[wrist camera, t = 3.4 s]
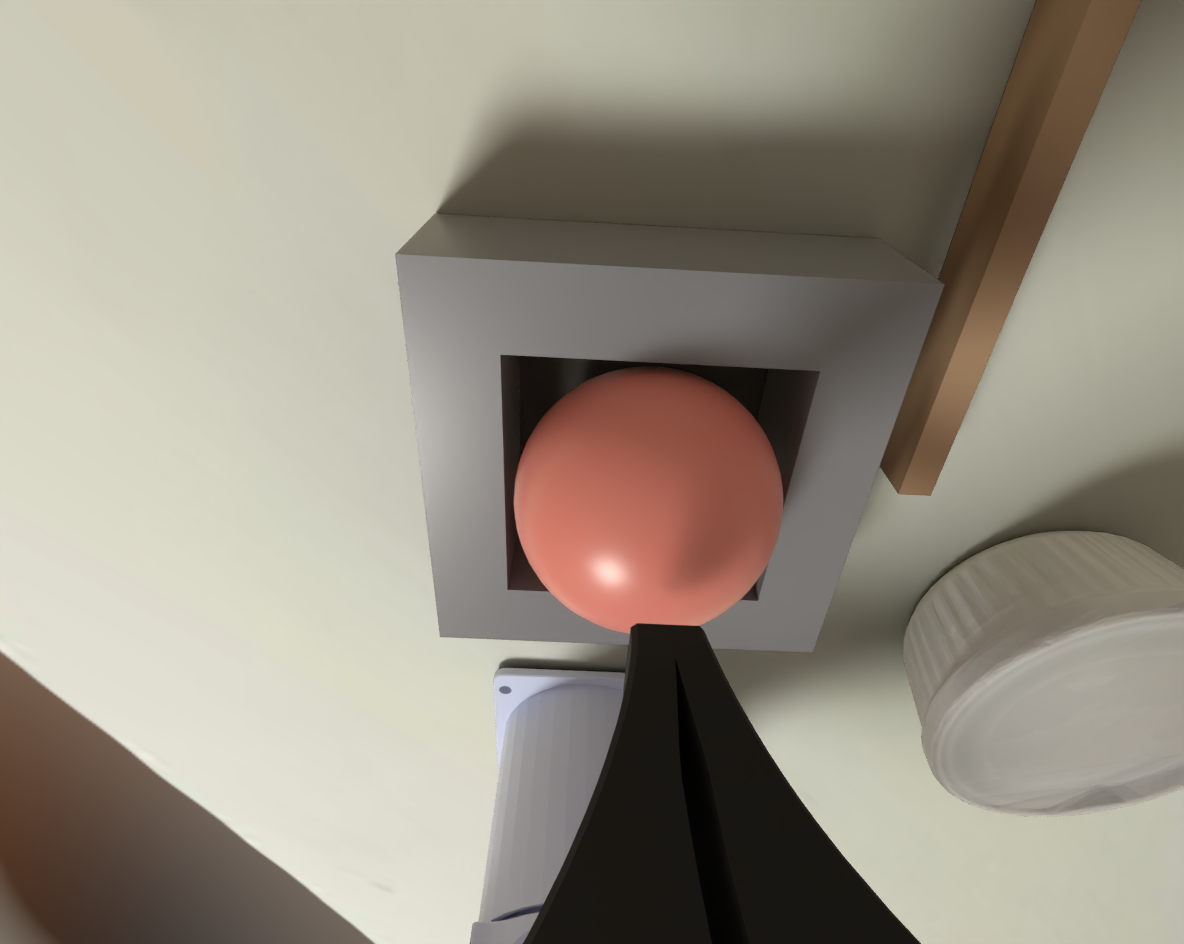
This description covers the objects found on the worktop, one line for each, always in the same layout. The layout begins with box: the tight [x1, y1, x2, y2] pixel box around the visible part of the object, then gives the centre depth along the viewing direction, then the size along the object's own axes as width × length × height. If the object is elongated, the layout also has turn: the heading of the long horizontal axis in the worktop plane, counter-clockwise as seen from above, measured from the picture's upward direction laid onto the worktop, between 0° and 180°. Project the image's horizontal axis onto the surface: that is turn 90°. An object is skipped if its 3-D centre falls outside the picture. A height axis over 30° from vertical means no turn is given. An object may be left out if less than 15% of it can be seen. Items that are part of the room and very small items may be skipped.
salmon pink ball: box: [514, 366, 783, 634], centre depth 17 cm, size 7×7×7 cm
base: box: [395, 214, 945, 653], centre depth 19 cm, size 12×12×4 cm
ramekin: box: [903, 531, 1184, 817], centre depth 23 cm, size 11×11×5 cm
